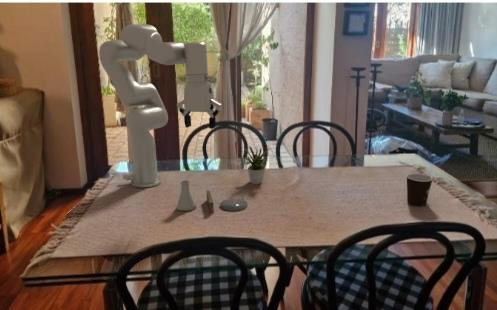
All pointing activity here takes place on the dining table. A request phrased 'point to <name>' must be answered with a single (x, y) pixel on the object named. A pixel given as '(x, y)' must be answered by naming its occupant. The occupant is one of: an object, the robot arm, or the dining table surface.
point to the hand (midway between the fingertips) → (200, 127)
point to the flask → (186, 198)
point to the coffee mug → (418, 189)
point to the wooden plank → (210, 201)
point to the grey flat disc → (233, 204)
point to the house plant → (256, 166)
